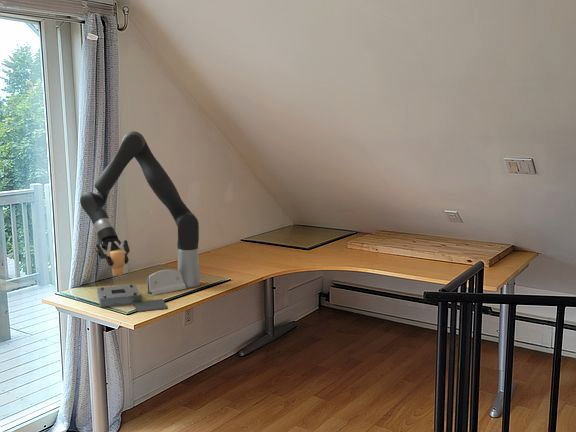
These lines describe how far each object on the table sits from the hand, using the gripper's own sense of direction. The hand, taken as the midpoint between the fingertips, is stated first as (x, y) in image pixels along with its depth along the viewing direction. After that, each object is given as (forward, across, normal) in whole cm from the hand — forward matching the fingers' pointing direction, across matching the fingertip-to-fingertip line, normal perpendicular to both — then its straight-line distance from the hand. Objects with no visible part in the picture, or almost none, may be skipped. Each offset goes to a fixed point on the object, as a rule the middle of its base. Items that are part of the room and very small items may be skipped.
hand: (119, 263), depth 251 cm
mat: (+21, +6, +1) cm, 22 cm away
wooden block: (+2, 0, +5) cm, 5 cm away
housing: (+10, 0, +12) cm, 16 cm away
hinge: (+11, +22, +12) cm, 27 cm away
